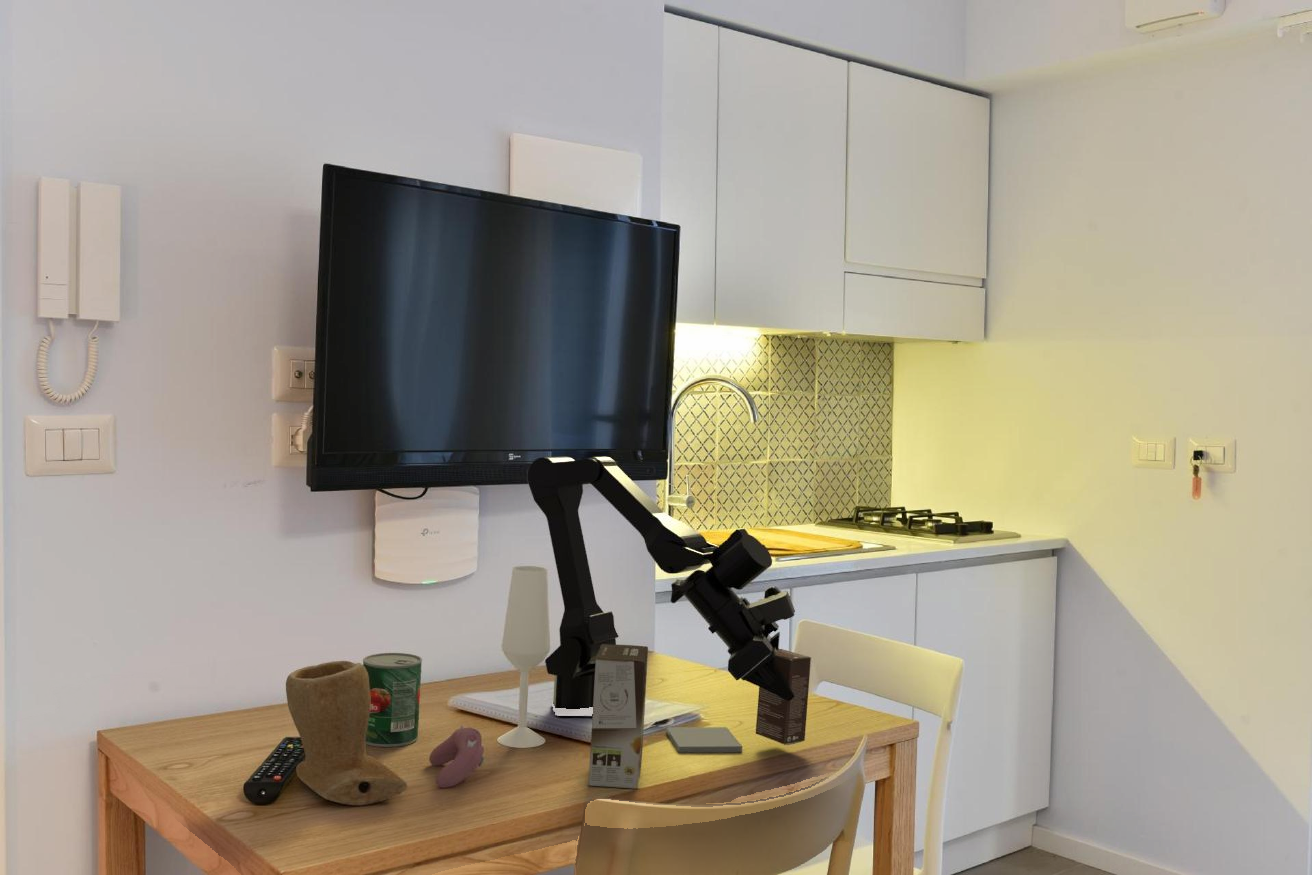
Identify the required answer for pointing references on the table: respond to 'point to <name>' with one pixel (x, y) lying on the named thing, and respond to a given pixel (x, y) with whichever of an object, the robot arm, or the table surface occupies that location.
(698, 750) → the slate pad
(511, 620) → the champagne flute
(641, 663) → the coffee box
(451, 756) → the purple curved piece
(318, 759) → the brown boot
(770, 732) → the box
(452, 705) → the table surface
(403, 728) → the canned tomato
